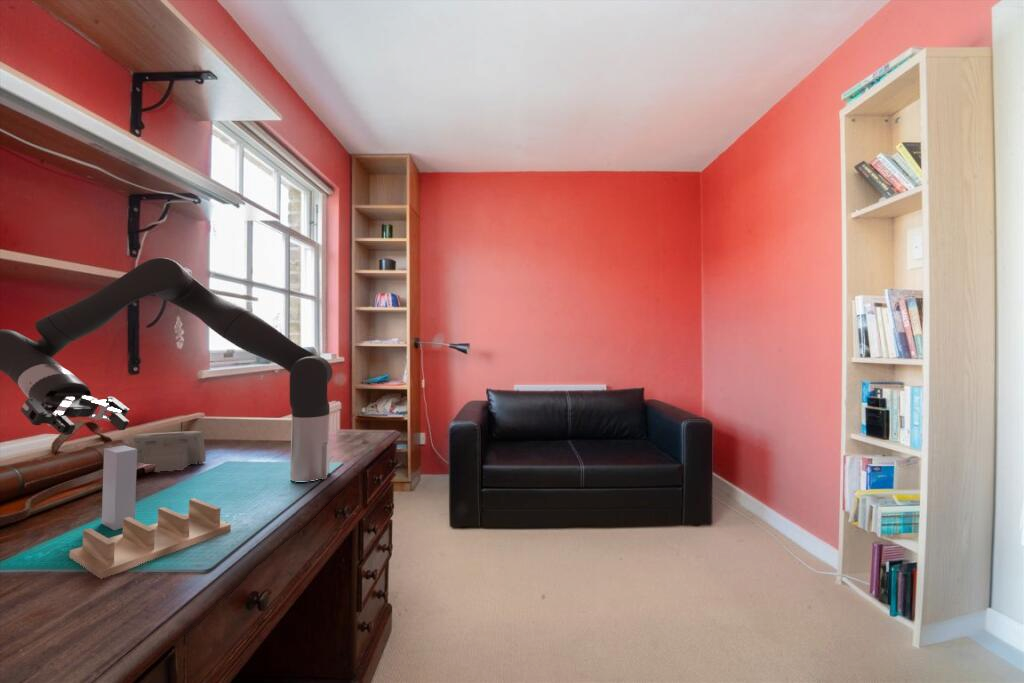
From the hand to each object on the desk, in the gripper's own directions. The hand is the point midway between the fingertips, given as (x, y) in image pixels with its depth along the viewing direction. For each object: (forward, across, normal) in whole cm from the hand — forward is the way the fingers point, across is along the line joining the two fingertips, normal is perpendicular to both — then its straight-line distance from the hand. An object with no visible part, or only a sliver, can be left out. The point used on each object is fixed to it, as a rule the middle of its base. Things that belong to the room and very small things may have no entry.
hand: (99, 428), depth 77 cm
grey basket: (-14, +33, +26) cm, 44 cm away
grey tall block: (+12, +3, +15) cm, 20 cm away
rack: (+26, -1, +8) cm, 27 cm away
